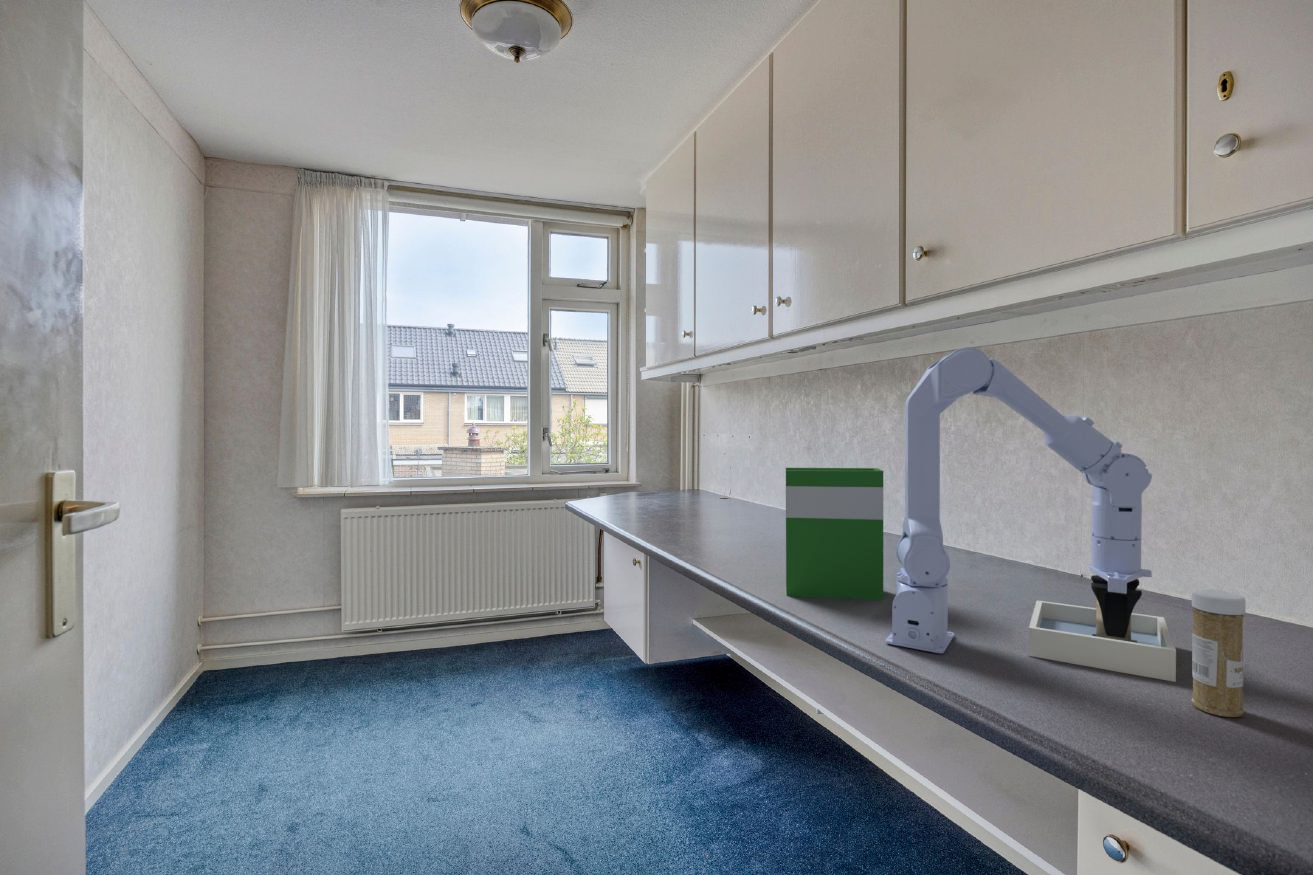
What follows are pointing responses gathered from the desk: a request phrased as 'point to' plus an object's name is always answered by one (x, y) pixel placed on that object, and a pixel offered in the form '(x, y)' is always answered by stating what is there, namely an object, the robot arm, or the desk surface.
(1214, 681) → the sprinkles bottle
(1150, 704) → the desk surface
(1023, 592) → the desk surface
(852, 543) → the hardback book
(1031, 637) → the box
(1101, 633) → the wooden cylinder
